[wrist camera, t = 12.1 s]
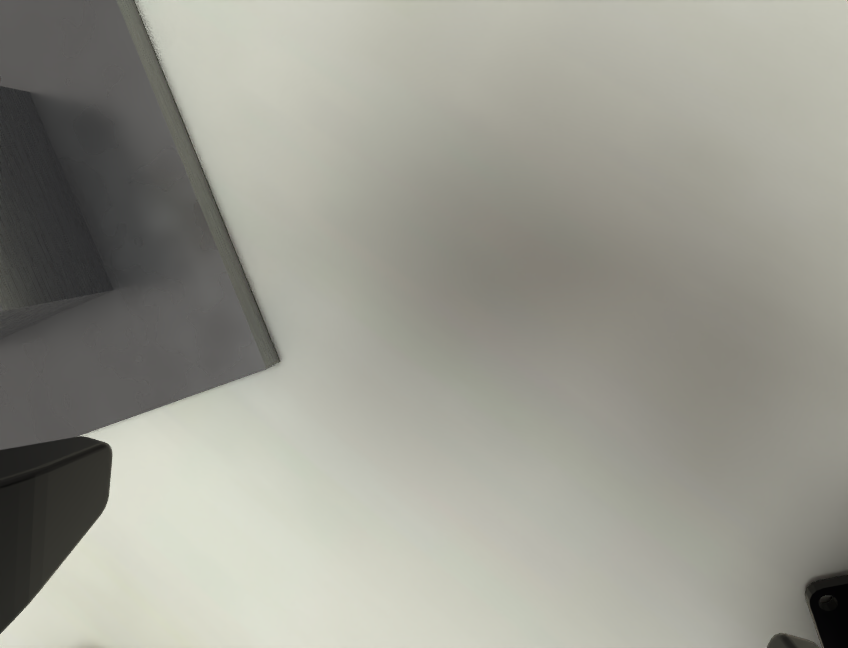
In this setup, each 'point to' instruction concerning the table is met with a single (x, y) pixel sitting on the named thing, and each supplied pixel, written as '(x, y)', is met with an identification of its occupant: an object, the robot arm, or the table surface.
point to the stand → (106, 232)
